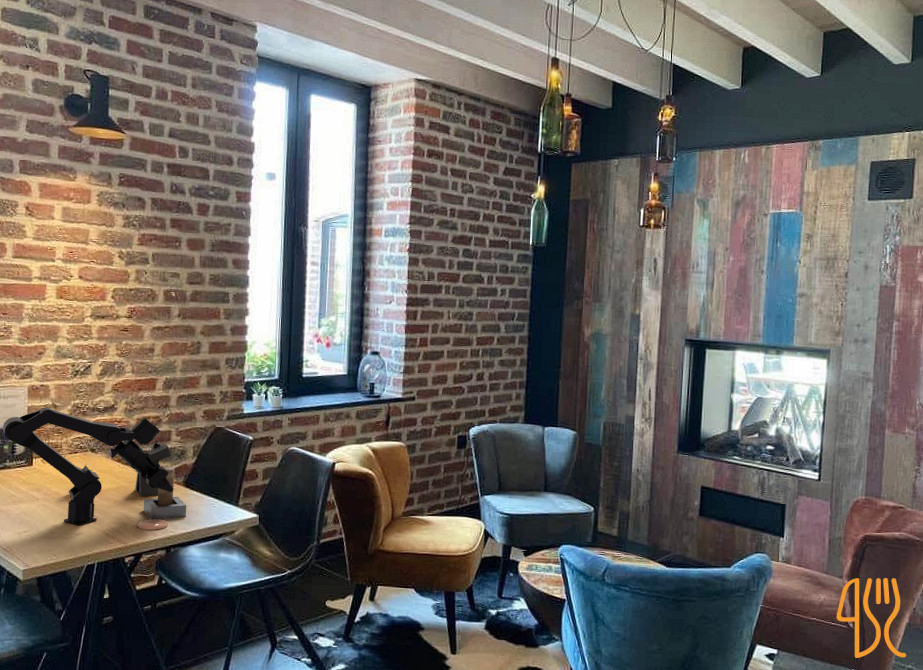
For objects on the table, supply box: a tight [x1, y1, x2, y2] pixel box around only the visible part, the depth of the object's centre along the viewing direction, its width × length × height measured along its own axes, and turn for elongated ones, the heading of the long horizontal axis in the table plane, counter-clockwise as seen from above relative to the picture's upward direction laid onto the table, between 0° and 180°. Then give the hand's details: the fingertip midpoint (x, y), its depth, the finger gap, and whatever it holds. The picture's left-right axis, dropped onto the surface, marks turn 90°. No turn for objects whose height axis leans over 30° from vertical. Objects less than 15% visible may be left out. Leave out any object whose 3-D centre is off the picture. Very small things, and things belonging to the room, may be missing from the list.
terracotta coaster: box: [136, 519, 169, 531], centre depth 232 cm, size 8×8×1 cm
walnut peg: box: [157, 466, 175, 506], centre depth 244 cm, size 4×4×14 cm
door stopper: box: [134, 461, 160, 497], centre depth 265 cm, size 9×6×12 cm, turn 33°
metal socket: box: [143, 496, 187, 520], centre depth 245 cm, size 10×10×4 cm
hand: (170, 488), depth 245 cm, fingers closed on walnut peg, 4 cm apart
